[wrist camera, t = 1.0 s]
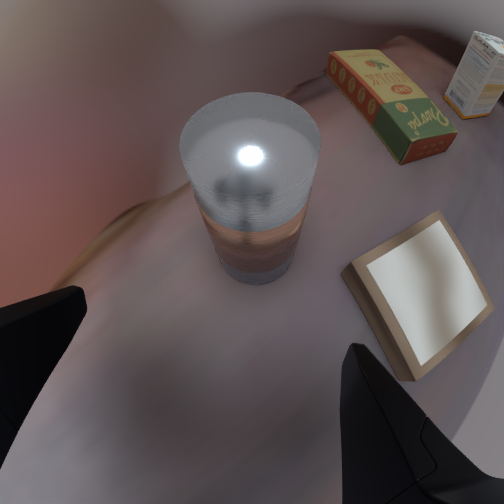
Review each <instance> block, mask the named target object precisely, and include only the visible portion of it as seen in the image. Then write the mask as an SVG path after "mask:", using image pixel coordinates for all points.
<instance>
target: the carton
mask: <svg viewBox="0 0 504 504" xmlns="http://www.w3.org/2000/svg"><path fill="white" fill-rule="evenodd" d="M326 75H327V76H328V78H329V79H330V80H331V81H332V82H333V83H334V84H335V85H336V86H337V87H338V88H339V90H340V91H341V92H342V93H343V94H344V95H345V96H346V97H347V99H348V100H349V101H350V102H351V103H352V104H353V106H354V107H355V108H356V109H357V110H358V111H359V113H360V114H361V115H362V116H363V118H364V119H365V120H366V121H367V123H368V124H369V125H370V126H371V128H372V129H373V130H374V131H375V133H376V134H377V135H378V137H379V138H380V139H381V141H382V142H383V144H384V145H385V146H386V148H387V149H388V151H389V152H390V153H391V155H392V156H393V158H394V159H395V161H396V162H397V163H399V164H400V165H403V164H406V163H409V162H413V161H416V160H419V159H422V158H425V157H428V156H432V155H435V154H438V153H442V152H445V151H446V150H447V149H448V147H449V146H450V145H451V143H452V142H453V140H454V139H455V137H456V135H457V130H456V129H455V128H454V126H453V125H452V124H451V123H450V122H449V120H448V119H447V118H446V117H445V116H444V115H443V113H442V112H441V111H440V110H439V109H438V108H437V106H436V105H435V104H434V103H433V102H432V101H431V100H430V99H429V98H428V97H427V96H426V95H425V94H424V92H423V91H422V90H421V89H420V88H419V87H418V86H417V85H416V84H415V83H414V82H413V81H412V80H411V79H410V78H409V77H408V76H407V75H406V74H405V73H404V72H403V71H402V70H400V69H399V68H398V67H397V66H396V65H395V64H394V63H393V62H392V61H391V60H390V59H389V58H387V57H386V56H385V55H384V54H383V53H381V52H380V51H379V50H348V51H335V52H330V54H329V57H328V63H327V70H326Z"/></svg>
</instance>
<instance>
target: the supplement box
mask: <svg viewBox="0 0 504 504" xmlns="http://www.w3.org/2000/svg"><path fill="white" fill-rule="evenodd" d="M503 91H504V41H503V40H501V39H500V38H497V37H494V36H491V35H487V34H484V33H480V32H477V31H474V32H473V35H472V37H471V40H470V42H469V44H468V46H467V49H466V51H465V53H464V55H463V57H462V60H461V62H460V64H459V66H458V68H457V70H456V72H455V74H454V76H453V78H452V81H451V83H450V85H449V86H448V88H447V91H446V93H445V95H444V97H443V98H444V99H445V101H446V102H447V103H448V104H449V105H450V106H451V107H452V108H453V109H454V110H455V112H456V113H457V114H458V115H459V116H460V117H461V118H462V119H468V118H474V117H480V116H486V115H488V114H489V113H490V111H491V110H492V108H493V107H494V105H495V104H496V102H497V100H498V99H499V97H500V96H501V94H502V93H503Z"/></svg>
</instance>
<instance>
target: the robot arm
mask: <svg viewBox="0 0 504 504" xmlns="http://www.w3.org/2000/svg"><path fill="white" fill-rule="evenodd" d="M86 312H87V304H86V299H85V294H84V290H83V289H82V288H81V287H78V286H74V285H72V286H69V287H65V288H62V289H59V290H56V291H52V292H49V293H46V294H43V295H40V296H36V297H33V298H30V299H27V300H24V301H21V302H17V303H15V304H11V305H8V306H5V307H2V308H0V469H1V467H2V464H3V462H4V460H5V458H6V456H7V454H8V451H9V449H10V447H11V445H12V443H13V441H14V439H15V437H16V435H17V433H18V431H19V429H20V427H21V425H22V423H23V422H24V420H25V418H26V416H27V414H28V412H29V411H30V409H31V407H32V405H33V403H34V402H35V400H36V398H37V396H38V395H39V393H40V391H41V390H42V388H43V386H44V384H45V383H46V381H47V379H48V378H49V376H50V375H51V373H52V371H53V370H54V368H55V367H56V365H57V363H58V362H59V360H60V359H61V357H62V355H63V354H64V352H65V351H66V349H67V348H68V346H69V344H70V343H71V341H72V339H73V337H74V335H75V333H76V331H77V329H78V328H79V326H80V324H81V322H82V320H83V318H84V317H85V315H86ZM340 427H341V449H342V504H504V479H501V478H495V477H492V476H489V475H487V474H485V473H484V472H482V471H481V470H480V469H479V468H478V467H476V466H475V465H474V464H473V463H472V462H471V461H470V460H469V459H468V458H467V457H466V456H465V455H464V454H463V453H462V452H461V451H460V450H459V449H457V447H456V446H454V444H453V443H452V442H451V441H450V440H449V439H448V438H447V437H446V436H445V435H444V434H443V433H442V432H441V431H440V430H439V429H438V428H437V426H436V425H435V424H434V423H433V422H432V421H431V420H430V418H429V417H426V414H425V413H424V412H423V410H422V409H421V408H420V407H419V406H418V405H417V403H416V402H415V401H414V400H413V399H412V398H411V397H410V395H409V394H408V393H407V392H406V391H405V390H404V389H403V387H402V386H401V385H400V384H399V383H398V382H397V381H396V379H395V378H394V377H393V376H392V375H391V374H390V373H389V371H388V370H387V369H386V368H385V367H384V366H383V365H382V364H381V362H380V361H379V360H378V359H377V358H376V357H375V356H374V355H373V353H372V352H371V351H370V350H369V349H368V348H367V347H366V346H365V345H364V344H359V343H352V344H351V345H350V346H349V348H348V351H347V353H346V356H345V358H344V361H343V364H342V372H341V395H340Z"/></svg>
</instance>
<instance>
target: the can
mask: <svg viewBox="0 0 504 504" xmlns="http://www.w3.org/2000/svg"><path fill="white" fill-rule="evenodd" d="M320 148H321V137H320V132H319V130H318V127H317V125H316V123H315V121H314V120H313V119H312V117H311V116H310V115H309V114H308V113H307V112H306V111H305V110H304V109H303V108H301V107H300V106H299V105H297V104H295V103H294V102H292V101H290V100H287V99H285V98H282V97H279V96H276V95H272V94H266V93H255V92H251V93H250V92H249V93H238V94H233V95H228V96H225V97H222V98H219V99H217V100H214V101H213V102H211V103H209V104H207V105H205V106H204V107H202V108H201V109H200V110H199V111H197V112H196V113H195V114H194V115H193V116H192V117H191V118H190V120H189V121H188V122H187V124H186V125H185V127H184V129H183V131H182V134H181V137H180V143H179V149H180V155H181V158H182V161H183V164H184V167H185V169H186V172H187V175H188V178H189V180H190V183H191V186H192V188H193V191H194V196H195V199H196V202H197V204H198V207H199V210H200V212H201V215H202V217H203V220H204V222H205V225H206V228H207V230H208V233H209V235H210V238H211V240H212V243H213V245H214V248H215V250H216V252H217V254H218V256H219V259H220V261H221V264H222V266H223V267H224V269H225V270H226V272H227V273H228V274H229V275H230V276H231V277H233V278H234V279H236V280H238V281H239V282H242V283H245V284H250V285H262V284H266V283H270V282H272V281H274V280H276V279H278V278H279V277H280V276H282V275H283V274H284V273H285V271H286V270H287V269H288V267H289V265H290V263H291V261H292V258H293V254H294V251H295V248H296V245H297V242H298V239H299V235H300V231H301V228H302V224H303V220H304V217H305V213H306V209H307V205H308V202H309V198H310V194H311V189H312V182H313V178H314V174H315V170H316V166H317V162H318V157H319V153H320Z"/></svg>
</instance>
